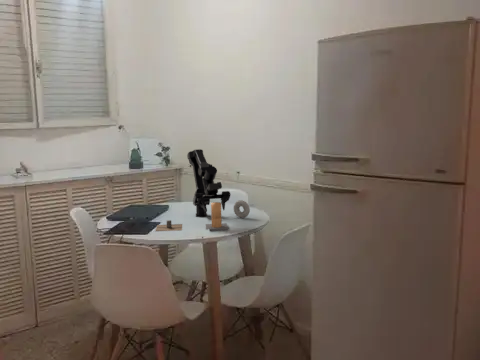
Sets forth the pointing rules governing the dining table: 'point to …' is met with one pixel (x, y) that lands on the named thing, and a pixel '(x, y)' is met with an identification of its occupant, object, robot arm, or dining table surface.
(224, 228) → the mat
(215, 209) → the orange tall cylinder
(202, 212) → the robot arm
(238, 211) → the donut
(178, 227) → the post board
